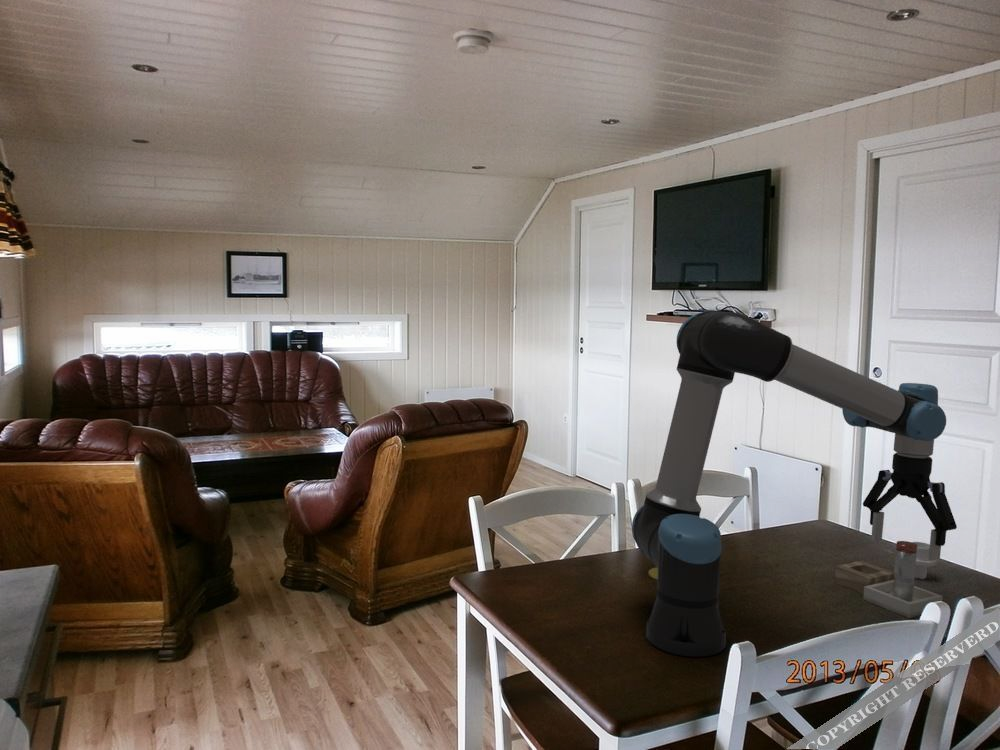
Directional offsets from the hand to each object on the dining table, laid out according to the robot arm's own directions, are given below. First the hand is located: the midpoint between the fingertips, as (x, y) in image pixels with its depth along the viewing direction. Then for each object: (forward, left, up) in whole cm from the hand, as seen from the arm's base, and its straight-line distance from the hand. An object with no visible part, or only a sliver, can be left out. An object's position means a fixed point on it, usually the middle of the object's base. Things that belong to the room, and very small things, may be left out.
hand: (904, 549), depth 164 cm
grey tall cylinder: (0, 0, -12) cm, 12 cm away
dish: (0, 0, -12) cm, 13 cm away
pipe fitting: (+20, +9, -13) cm, 26 cm away
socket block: (+2, +11, -12) cm, 17 cm away
